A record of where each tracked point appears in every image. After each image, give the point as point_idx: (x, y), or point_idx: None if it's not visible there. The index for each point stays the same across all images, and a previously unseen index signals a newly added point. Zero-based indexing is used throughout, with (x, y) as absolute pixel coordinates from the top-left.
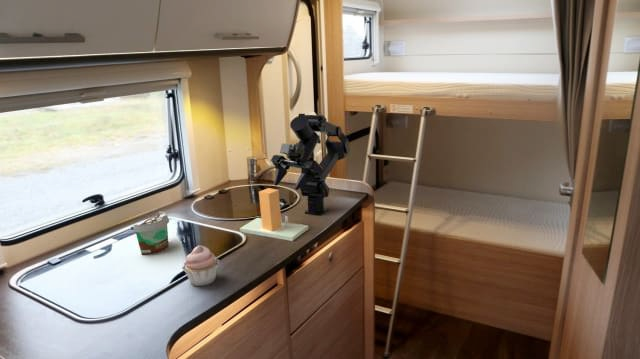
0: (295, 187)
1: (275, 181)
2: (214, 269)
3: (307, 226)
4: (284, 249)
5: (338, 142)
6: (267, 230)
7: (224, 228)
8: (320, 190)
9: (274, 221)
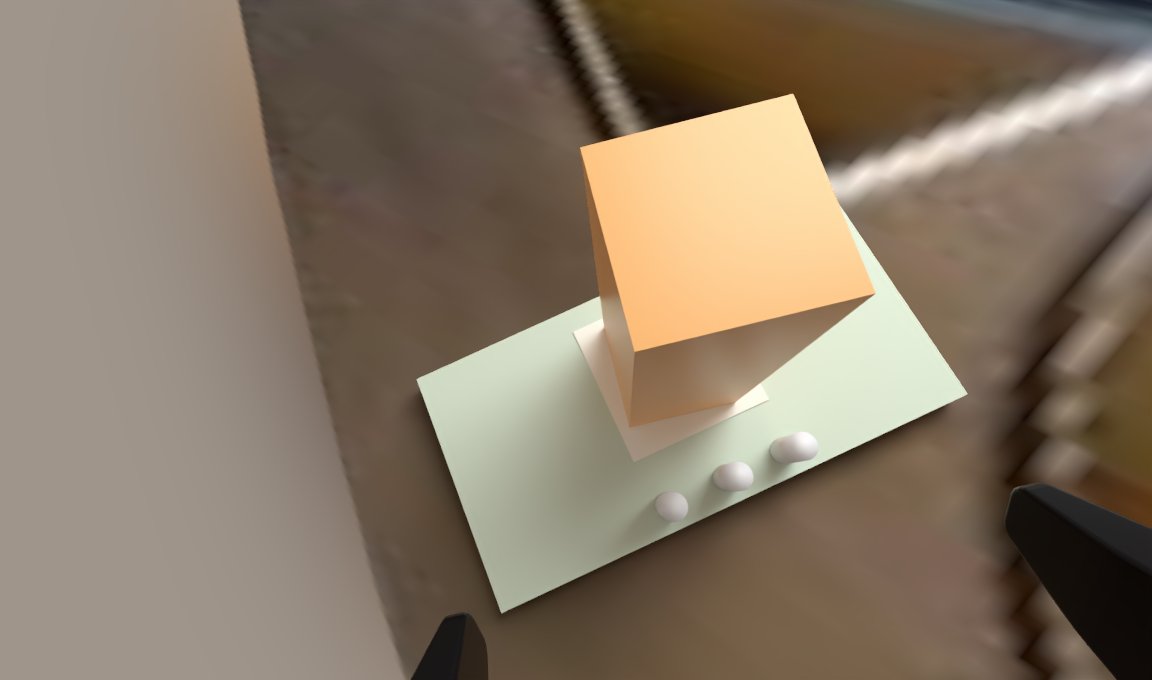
0: (447, 628)
1: (1080, 522)
2: None
3: (497, 600)
4: (370, 281)
5: None
6: None
7: (955, 153)
8: None
9: (610, 340)
